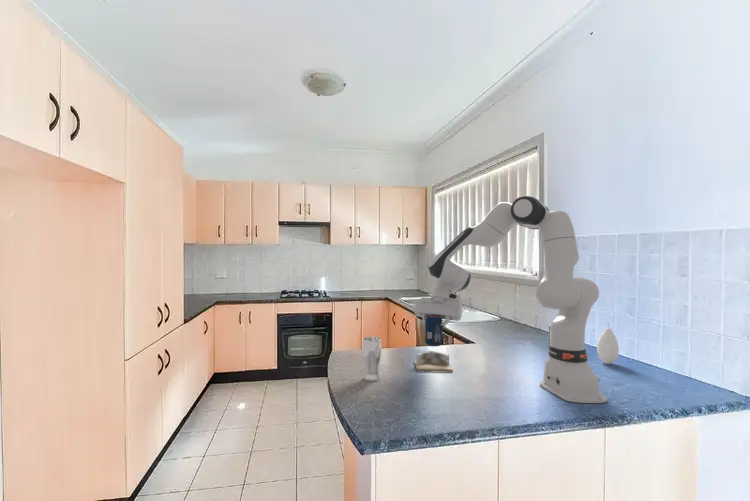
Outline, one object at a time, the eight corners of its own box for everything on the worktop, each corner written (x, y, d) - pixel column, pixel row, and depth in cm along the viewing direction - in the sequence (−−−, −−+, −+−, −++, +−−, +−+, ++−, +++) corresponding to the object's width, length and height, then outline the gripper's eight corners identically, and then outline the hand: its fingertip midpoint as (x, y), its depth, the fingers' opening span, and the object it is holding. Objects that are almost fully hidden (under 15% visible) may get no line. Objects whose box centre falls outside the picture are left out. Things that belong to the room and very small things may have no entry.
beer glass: (358, 379, 143) (359, 339, 143) (367, 374, 149) (368, 335, 149) (375, 383, 140) (376, 341, 140) (384, 377, 146) (384, 337, 146)
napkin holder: (452, 372, 154) (452, 359, 154) (417, 371, 154) (417, 359, 154) (447, 362, 167) (447, 351, 167) (414, 362, 167) (414, 350, 167)
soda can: (430, 342, 164) (430, 314, 164) (445, 344, 160) (445, 315, 160) (421, 345, 159) (422, 315, 159) (436, 347, 154) (437, 317, 155)
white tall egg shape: (593, 362, 170) (593, 321, 170) (604, 360, 173) (605, 320, 173) (610, 367, 163) (611, 324, 163) (622, 365, 166) (622, 323, 166)
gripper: (417, 292, 170) (407, 318, 162) (462, 296, 161) (455, 323, 152) (420, 301, 174) (411, 327, 166) (465, 305, 165) (458, 332, 156)
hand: (433, 325), depth 159 cm, fingers closed on soda can, 7 cm apart
